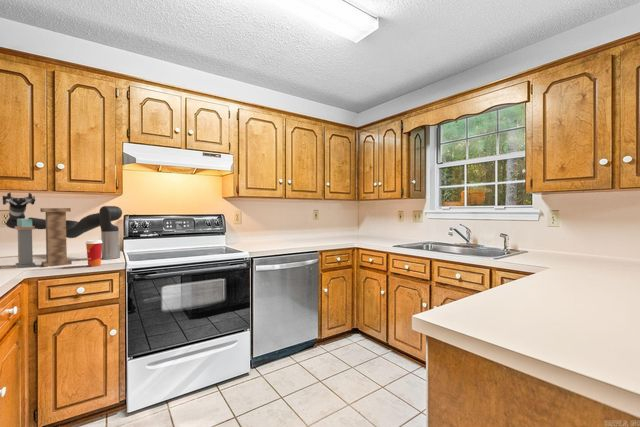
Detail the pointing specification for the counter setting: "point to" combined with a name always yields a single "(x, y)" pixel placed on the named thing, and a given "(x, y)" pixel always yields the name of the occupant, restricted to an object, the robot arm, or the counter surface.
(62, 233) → the stand
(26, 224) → the bar
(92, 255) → the paper cup
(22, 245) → the ledge
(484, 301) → the counter surface
